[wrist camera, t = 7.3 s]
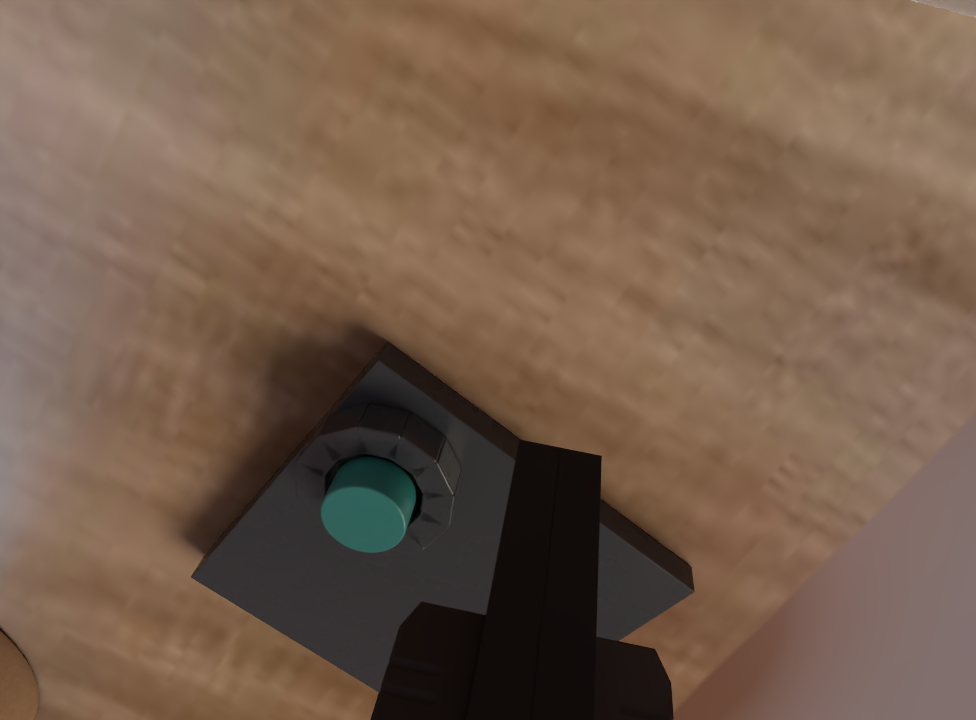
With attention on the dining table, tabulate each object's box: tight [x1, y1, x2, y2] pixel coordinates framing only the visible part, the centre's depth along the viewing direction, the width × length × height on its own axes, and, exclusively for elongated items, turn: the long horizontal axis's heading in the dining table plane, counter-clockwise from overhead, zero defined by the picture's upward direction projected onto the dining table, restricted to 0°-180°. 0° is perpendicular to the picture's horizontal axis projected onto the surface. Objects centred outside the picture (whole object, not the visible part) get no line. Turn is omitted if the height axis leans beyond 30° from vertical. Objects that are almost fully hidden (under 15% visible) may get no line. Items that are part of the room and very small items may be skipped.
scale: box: [191, 342, 694, 692], centre depth 32 cm, size 16×16×3 cm
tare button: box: [320, 457, 416, 553], centre depth 28 cm, size 3×3×2 cm
